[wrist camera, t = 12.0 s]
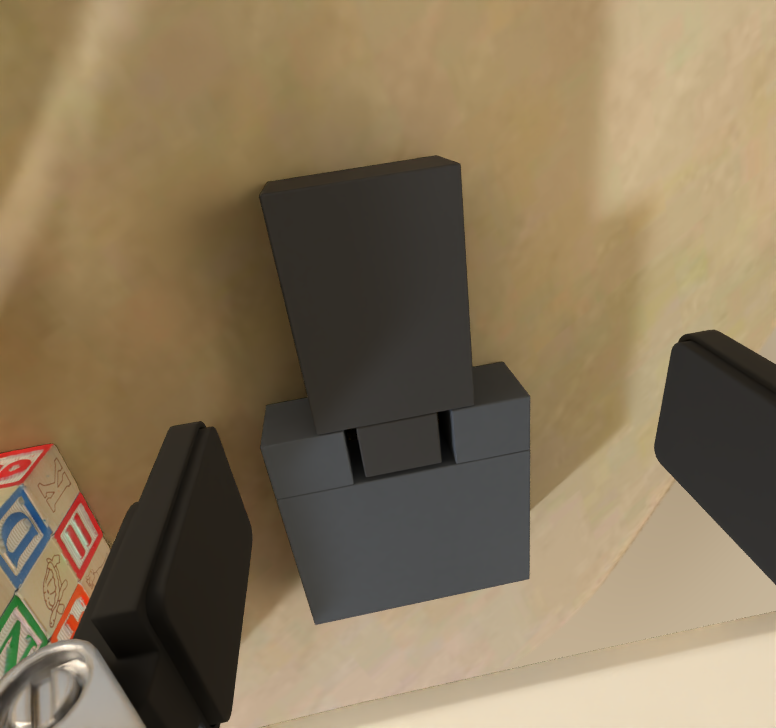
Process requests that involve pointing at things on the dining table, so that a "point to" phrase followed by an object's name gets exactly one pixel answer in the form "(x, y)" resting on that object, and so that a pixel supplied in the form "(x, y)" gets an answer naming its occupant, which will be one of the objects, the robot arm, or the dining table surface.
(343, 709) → the robot arm
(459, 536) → the grey block
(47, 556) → the stack of blocks
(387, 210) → the black tabbed block
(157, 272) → the dining table surface
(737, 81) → the dining table surface
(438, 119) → the dining table surface
